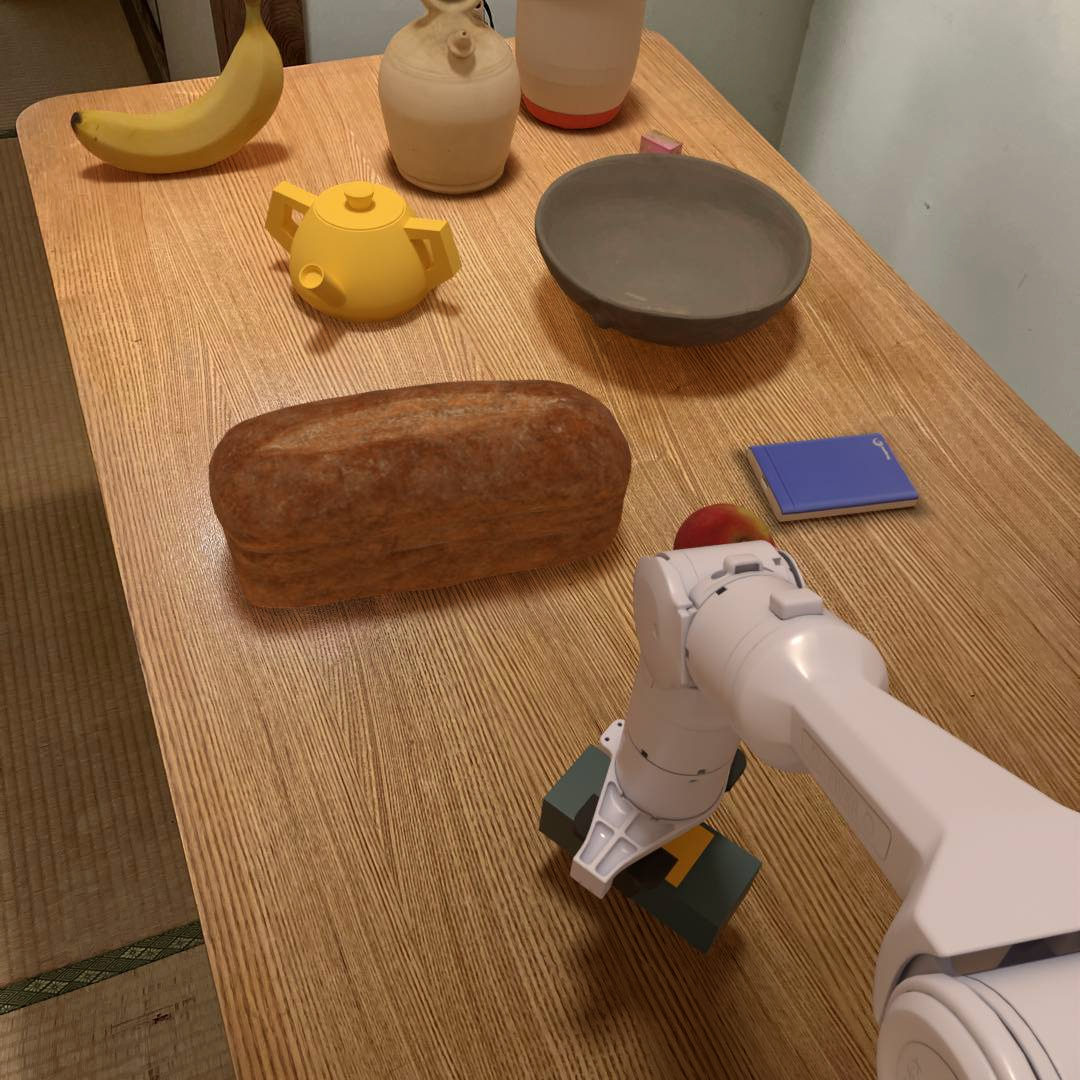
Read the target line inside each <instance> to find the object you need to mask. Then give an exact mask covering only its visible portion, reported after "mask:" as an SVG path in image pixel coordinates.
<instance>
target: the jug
mask: <svg viewBox="0 0 1080 1080" xmlns="http://www.w3.org/2000/svg"><path fill="white" fill-rule="evenodd" d="M420 2H421V3H422V5H423V7H424V8H425V12H424V13H423V15H422V16H420V17H418V18H415V19H414V20H412V21H411V22H409V23H408V24H406V25H405V26H403V27H402V28H401V29H400V30H399V31H397V32H396V33H395V34H394V35H393V36H392V37H391V39H390V41H388V42H389V43H388V44H387V46H386V48H385V50H384V53H383V55H382V58H381V60H380V61H381V62H380V65H379V70H378V76H377V92H378V99H379V103H380V109H381V113H382V118H383V122H384V126H385V131H386V134H387V135H386V136H387V139H388V144H389V147H390V152H391V154H392V157H393V160H394V163H395V164H396V168H397V170H398V172H399V173H400V175H401V176H402V177H403V179H405V180H406V181H407V182H409V183H411V184H412V185H414V186H416V187H417V188H420V189H422V190H425V191H429V192H431V193H439V194H443V195H455V196H457V195H465V194H472V193H477V192H481V191H483V190H486V189H488V188H490V187H491V186H493V185H494V184H496V183H497V182H498V181H499V180H500V179H501V177H502V176H503V174H504V170H505V164H506V161H507V159H508V157H509V153H510V149H511V145H512V140H513V136H514V132H515V128H516V124H517V119H518V116H519V111H520V107H521V105H520V104H521V99H522V98H521V97H522V93H521V86H520V76H519V71H518V67H517V63H516V57H515V56H514V55H515V54H514V53H513V51H512V49H511V47H510V45H509V44H508V42H507V41H506V39H505V38H504V37H503V36H502V35H501V34H500V33H499V32H497V31H496V30H495V29H494V28H493V27H491V26H490V25H489V24H487V23H485V22H484V21H482V20H480V19H478V18H476V17H474V16H473V14H472V12H473V10H474V9H476V7H477V6H478V5H479V4H480V3H481V2H482V0H420Z"/></svg>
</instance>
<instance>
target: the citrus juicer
mask: <svg viewBox="0 0 1080 1080" xmlns="http://www.w3.org/2000/svg"><path fill="white" fill-rule="evenodd" d="M646 6H647V0H516V11H515V12H516V13H515V14H516V15H515V32H514V33H515V35H514V55H515V56H514V58H515V60H516V63H517V67H518V71H519V76H520V86H521V97H522V99H523V102H524V104H525V107H526V109H527V111H528V112H529V113H530V114H531V115H532V116H533V117H534V118H536V119H538V120H539V121H542V122H544V123H546V124H549V125H552V126H556V127H559V128H561V129H563V130H572V129H590V128H591V129H592V128H596V127H600V126H604V125H605V124H607V123H609V122H611V121H612V120H613V119H614V118H616V116H617V114H618V113H619V112H620V109H621V107H622V105H623V104H624V101H626V96H627V93H628V90H629V88H630V86H631V84H632V83H633V82H632V81H633V78H634V74H635V72H636V69H637V64H638V61H639V60H638V59H639V56H640V55H639V54H640V49H641V41H642V34H643V29H644V21H645V13H646Z"/></svg>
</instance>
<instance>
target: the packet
mask: <svg viewBox="0 0 1080 1080" xmlns="http://www.w3.org/2000/svg"><path fill="white" fill-rule="evenodd" d="M610 763H611V761H610V758H609V756H608V755H606V754H605V753H603V752H602V751H601V750H600V748H598V747H597V746H596V745H594V744H592V743H590V744H589V745H588V746H587V747H586V748H585V750H584V751H583V752H582V753H581V754H580V755H579V757H578V758H576V760H575V762H573V763H572V765H571V766H570V767H569V768H568V769H567V770H566V772H565V773H564V774H562V776H561V778H559V780H557V782H556V783H555V784H554V785H553V786H552V787H551V789H549V791H548V792H547V793H546V794H545V796H543V798H542V803H541V811H540V818H539V823H538V832H540V833H541V834H542V835H543V836H545V837H547V838H548V839H549V840H551V841H552V842H553V843H555V844H556V845H557V846H559V847H560V848H561V849H563V850H564V851H565V852H567V853H568V854H569V855H571V856H572V857H573V858H574V857H575V855H576V854H577V852H578V851H579V850H580V848H581V847H582V845H583V842H582V841H581V840H580V839H578V838H577V837H576V836H575V835H574V834H573V832H572V829H573V822H574V818H575V815H576V814H577V812H578V811H579V810H580V809H581V807H582V806H583V805H584V804H585V803H586V802H587V800H588V799H589V798H590V797H591V796H592V794H593V793H594V794H596V795H597V796H598V797H600V795H601V792H602V788H603V785H604V782H605V779H606V776H607V772H608V769H609V766H610ZM661 847H662V848H664V849H665V850H666V851H668V852H669V853H671V854H672V855H673V856H675V857H676V858H678V862H677V863H676V865H675V866H674V867H673V869H672V870H671V871H670V873H669V874H668V875H667V877H666V878H665V879H664V881H663V882H662V883H661V884H660V885H658V886H657V887H656V888H654V889H653V890H648V889H646V888H644V887H641V888H640V889H639V891H638V892H637V893H636V894H635V895H634V896H632V897H630V898H629V899H630V900H631V901H632V902H633V903H635V904H636V905H637V906H639V907H640V908H642V909H643V910H644V911H645V912H647V913H648V914H650V915H651V916H652V917H653V918H655V919H657V921H658V922H660V923H661V924H663V925H664V926H666V927H667V928H668V929H669V930H671V931H672V932H673V933H674V934H676V935H678V936H679V937H680V938H681V939H683V940H684V941H685V942H687V943H688V944H689V945H690V946H692V947H693V948H695V949H696V950H698V951H699V952H700V953H701V954H703V955H705V956H706V955H707V954H708V953H709V951H710V950H711V949H712V947H713V945H714V944H715V942H716V941H717V939H718V938H719V937H720V935H721V934H722V932H723V931H724V929H725V928H726V926H727V925H728V923H729V922H730V920H731V919H732V917H733V916H734V914H735V913H736V911H737V910H738V909H739V907H740V906H741V904H742V902H743V901H744V899H745V898H746V896H747V895H748V893H749V891H750V889H751V887H752V885H753V883H754V881H755V879H756V878H757V876H758V873H759V872H760V870H761V867H762V865H763V862H762V861H761V860H760V859H758V858H756V857H755V856H753V855H752V854H751V853H749V852H748V851H746V850H745V849H743V847H741V846H740V845H738V844H736V843H735V842H734V841H732V839H731V840H730V839H729V838H728V837H726V836H725V835H724V834H722V833H720V832H719V831H718V830H717V829H715V828H713V827H712V826H711V825H709V824H708V823H707V822H705V821H704V822H702V823H700V824H699V825H697V826H695V827H694V828H692V829H690V830H688V831H687V832H685V833H683V834H682V835H680V836H678V837H677V838H675V839H673V840H671V841H670V842H668V843H666V844H665V845H663V846H661Z"/></svg>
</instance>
